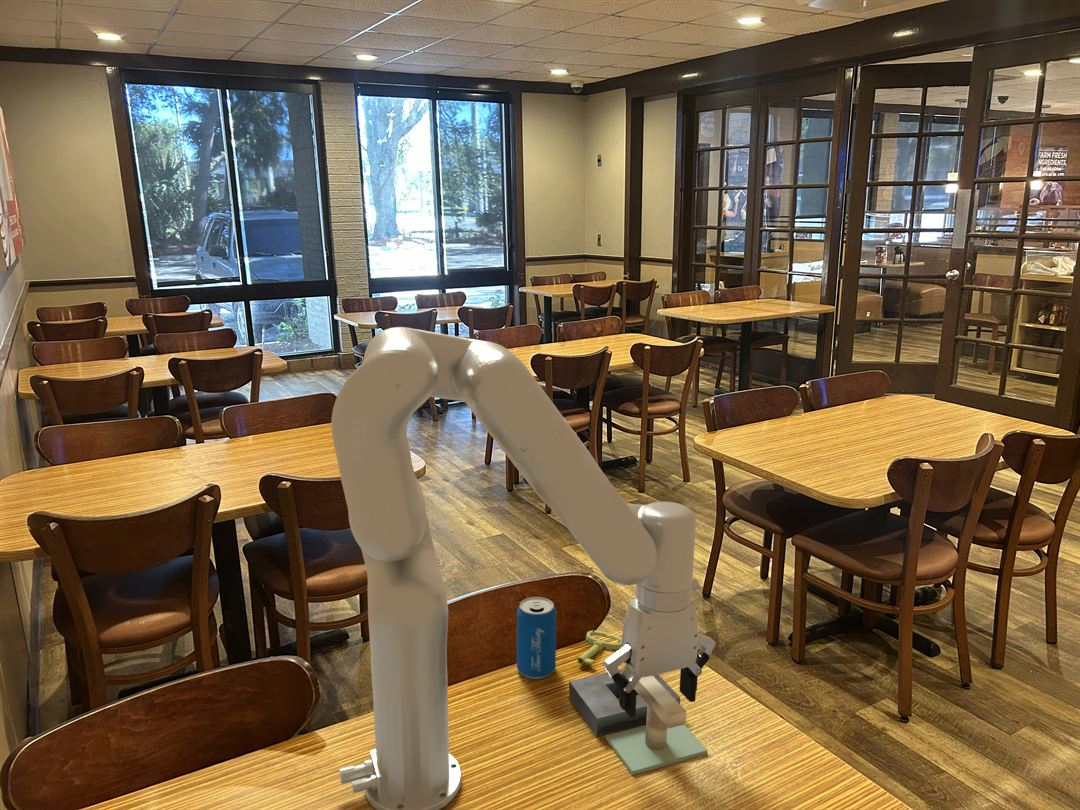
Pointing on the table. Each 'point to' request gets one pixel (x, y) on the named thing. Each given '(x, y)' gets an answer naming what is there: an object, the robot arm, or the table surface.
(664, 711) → the t key
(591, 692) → the lock housing
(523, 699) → the table surface
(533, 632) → the beverage can
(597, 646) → the key
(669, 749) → the mat
